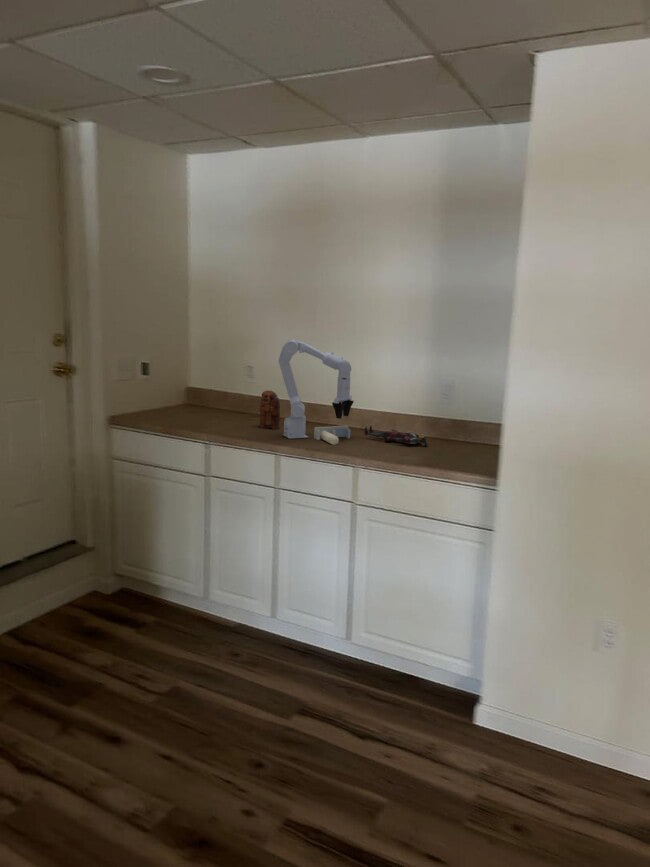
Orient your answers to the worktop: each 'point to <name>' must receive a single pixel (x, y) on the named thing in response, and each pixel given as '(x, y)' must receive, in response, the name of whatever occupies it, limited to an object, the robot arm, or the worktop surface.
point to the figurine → (398, 436)
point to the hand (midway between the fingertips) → (342, 417)
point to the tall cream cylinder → (329, 437)
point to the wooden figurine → (269, 410)
